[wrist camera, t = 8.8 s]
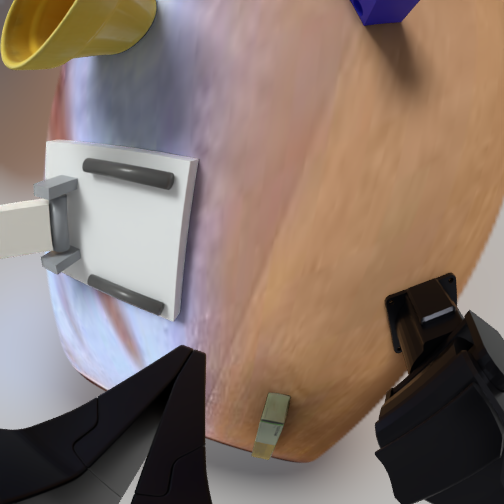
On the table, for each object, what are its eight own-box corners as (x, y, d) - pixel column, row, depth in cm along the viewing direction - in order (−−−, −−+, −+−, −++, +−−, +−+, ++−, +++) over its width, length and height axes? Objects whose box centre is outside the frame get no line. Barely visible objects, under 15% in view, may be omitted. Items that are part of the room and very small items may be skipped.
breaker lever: (67, 199, 19) (-25, 213, 13) (70, 251, 21) (-15, 264, 15) (66, 192, 20) (-20, 205, 14) (69, 241, 22) (-12, 254, 17)
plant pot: (117, 98, 18) (19, 99, 9) (68, 46, 16) (-11, 40, 7) (204, 2, 13) (134, -59, 5) (136, -35, 12) (68, -72, 3)
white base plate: (198, 159, 19) (165, 168, 14) (180, 312, 25) (156, 346, 20) (57, 139, 20) (18, 147, 16) (61, 262, 26) (33, 282, 22)
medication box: (267, 389, 28) (259, 418, 24) (291, 394, 27) (286, 423, 24) (257, 435, 33) (250, 457, 29) (275, 438, 32) (270, 461, 29)
